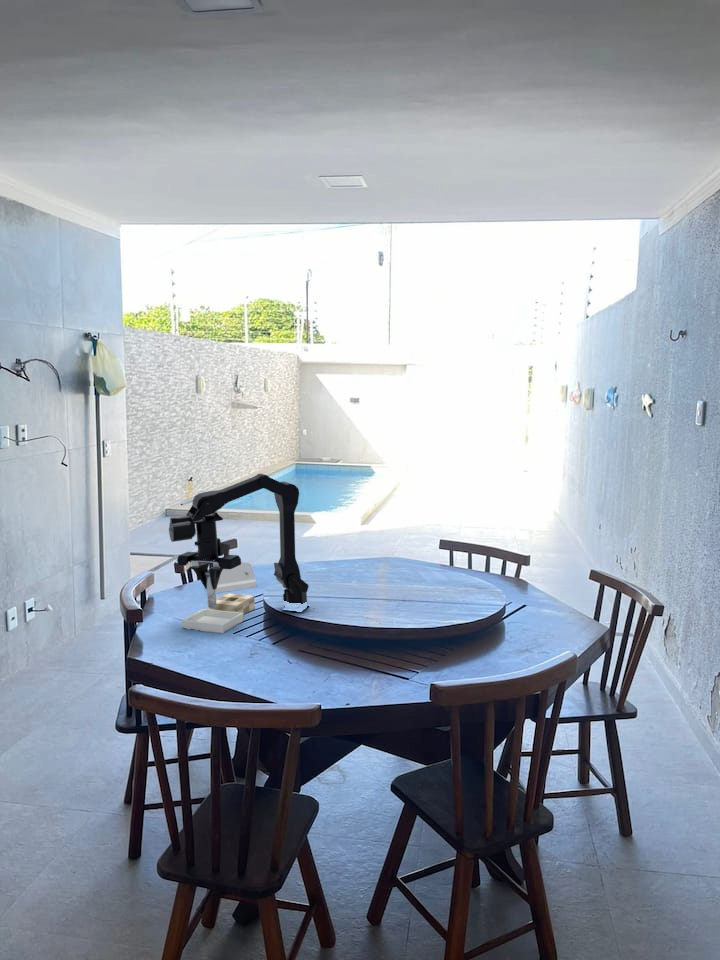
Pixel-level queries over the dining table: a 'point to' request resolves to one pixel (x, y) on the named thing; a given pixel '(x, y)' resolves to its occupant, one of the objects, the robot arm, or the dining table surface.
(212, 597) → the pin
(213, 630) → the tray
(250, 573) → the hinge
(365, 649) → the dining table surface
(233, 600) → the block
